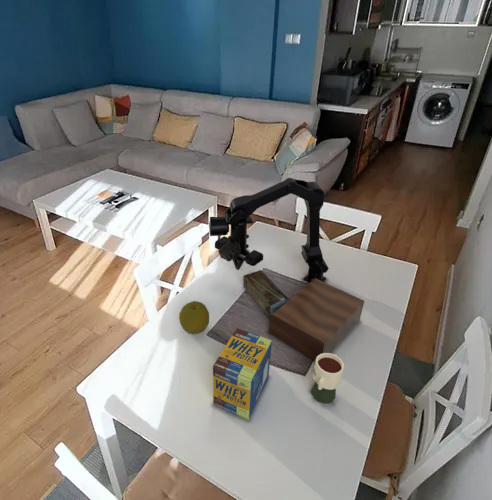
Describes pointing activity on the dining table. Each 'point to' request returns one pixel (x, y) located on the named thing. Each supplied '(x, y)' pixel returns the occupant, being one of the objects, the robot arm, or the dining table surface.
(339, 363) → the character mug
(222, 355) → the protein box
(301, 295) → the walnut wood chunk
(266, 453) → the dining table surface
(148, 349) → the dining table surface
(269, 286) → the beverage carton
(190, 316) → the apple
